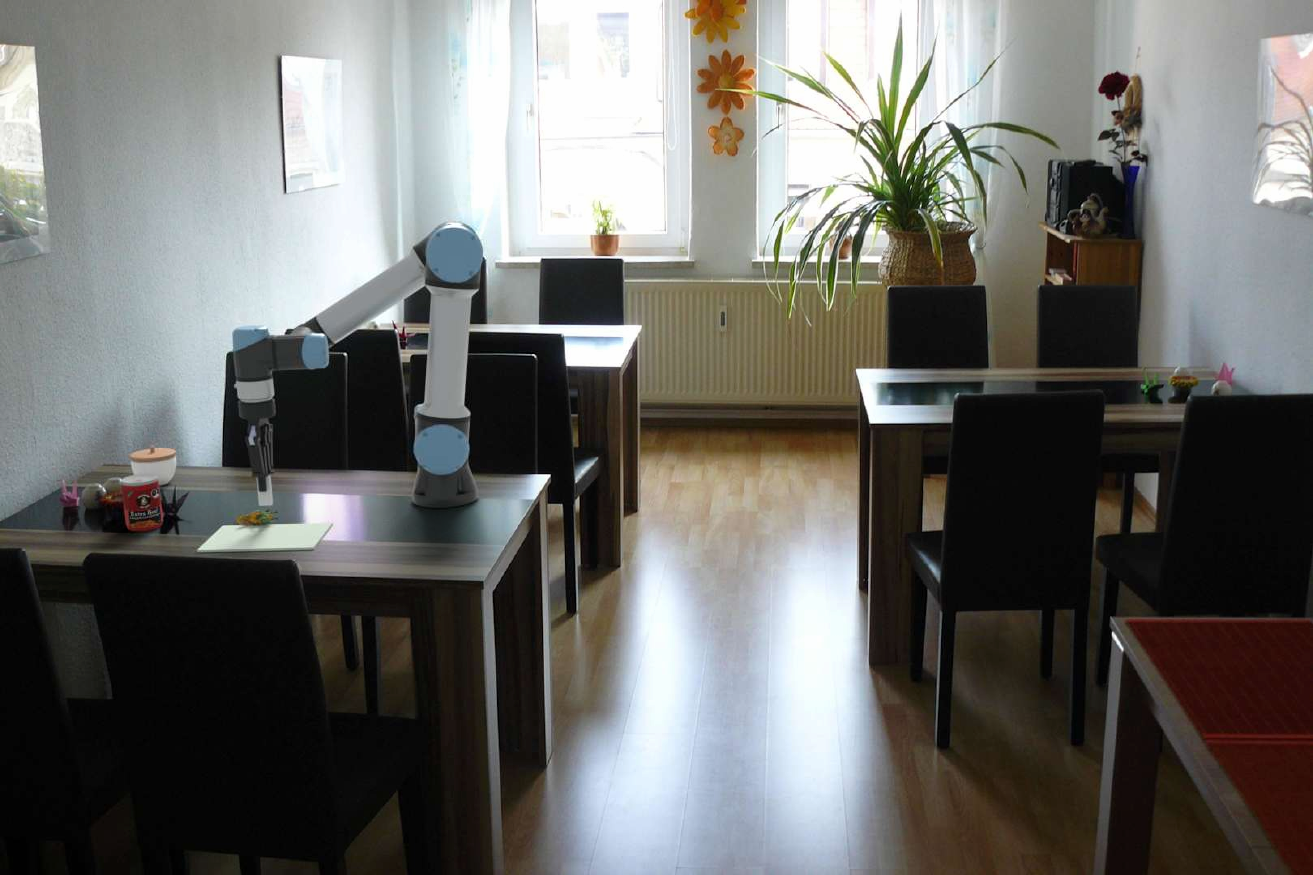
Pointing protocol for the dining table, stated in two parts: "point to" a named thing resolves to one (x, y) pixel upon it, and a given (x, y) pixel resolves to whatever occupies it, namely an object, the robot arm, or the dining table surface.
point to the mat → (266, 537)
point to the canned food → (142, 502)
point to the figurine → (257, 517)
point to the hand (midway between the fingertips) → (266, 504)
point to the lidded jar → (155, 463)
